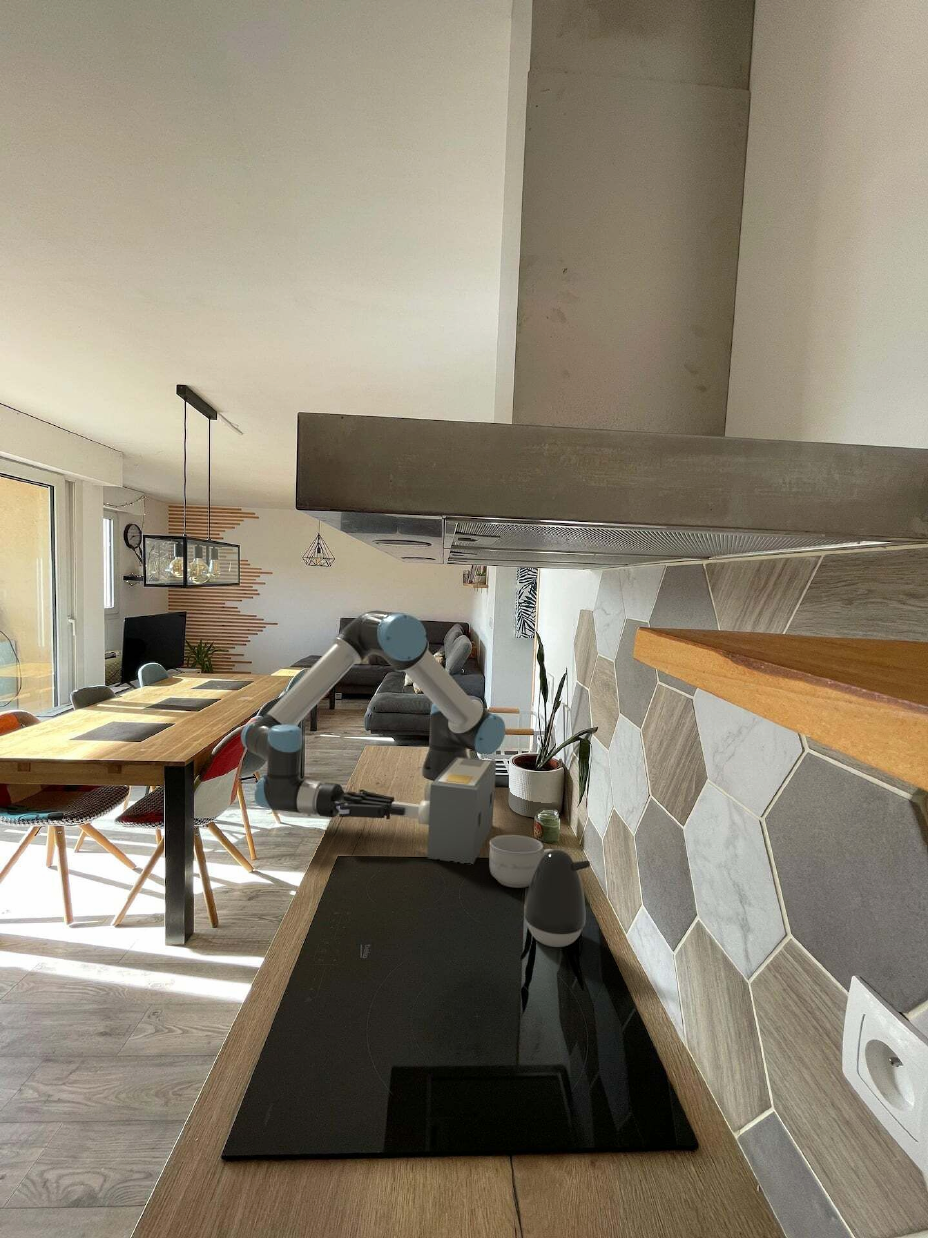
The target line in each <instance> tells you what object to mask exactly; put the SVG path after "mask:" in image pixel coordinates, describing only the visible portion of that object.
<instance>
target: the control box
mask: <svg viewBox="0 0 928 1238" xmlns="http://www.w3.org/2000/svg"><path fill="white" fill-rule="evenodd" d="M496 769H497V761H496V760H490V759H489V760H488V759H480V758H471V757H468V758H462V757H456V758H455V759H454V760H453V761H452V762H451V763H450V764H449V766H448V767H447V768H446V769H445V770H444V771H443V772H442V773H441V774H440V775H439V776H438V777H437V778H436V780H433V781H432V782H433V783H432V784H431V792H430V812H429V825H428V833H427V834H428V835H427V837H428V838H427V851H426V852H427V855H426V858H427V859H432V860H437V859H440V860H439V861H445V862H450V861H454V862H453V863H457V862H460V863H459V864H464V863H471V864H473V865H474V863H475V861H476V859H477V857H478V855H479V853H480V851H481V849H482V848H483V845H484V843H485V841H486V839H487V837H488V835H489V833H490V831H491V830H492V827H493V824H494V806H495V792H496V791H495V790H496ZM471 864H470V865H471Z"/></svg>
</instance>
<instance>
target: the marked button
mask: <svg viewBox="0 0 928 1238" xmlns="http://www.w3.org/2000/svg"><path fill="white" fill-rule="evenodd" d="M419 805H420V806H419V811H418V819H417V821H418V824H421V825H426V826H427V825H428V826H429V812H430V801H425V800H424V799H422V800H421V801H420V803H419Z"/></svg>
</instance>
